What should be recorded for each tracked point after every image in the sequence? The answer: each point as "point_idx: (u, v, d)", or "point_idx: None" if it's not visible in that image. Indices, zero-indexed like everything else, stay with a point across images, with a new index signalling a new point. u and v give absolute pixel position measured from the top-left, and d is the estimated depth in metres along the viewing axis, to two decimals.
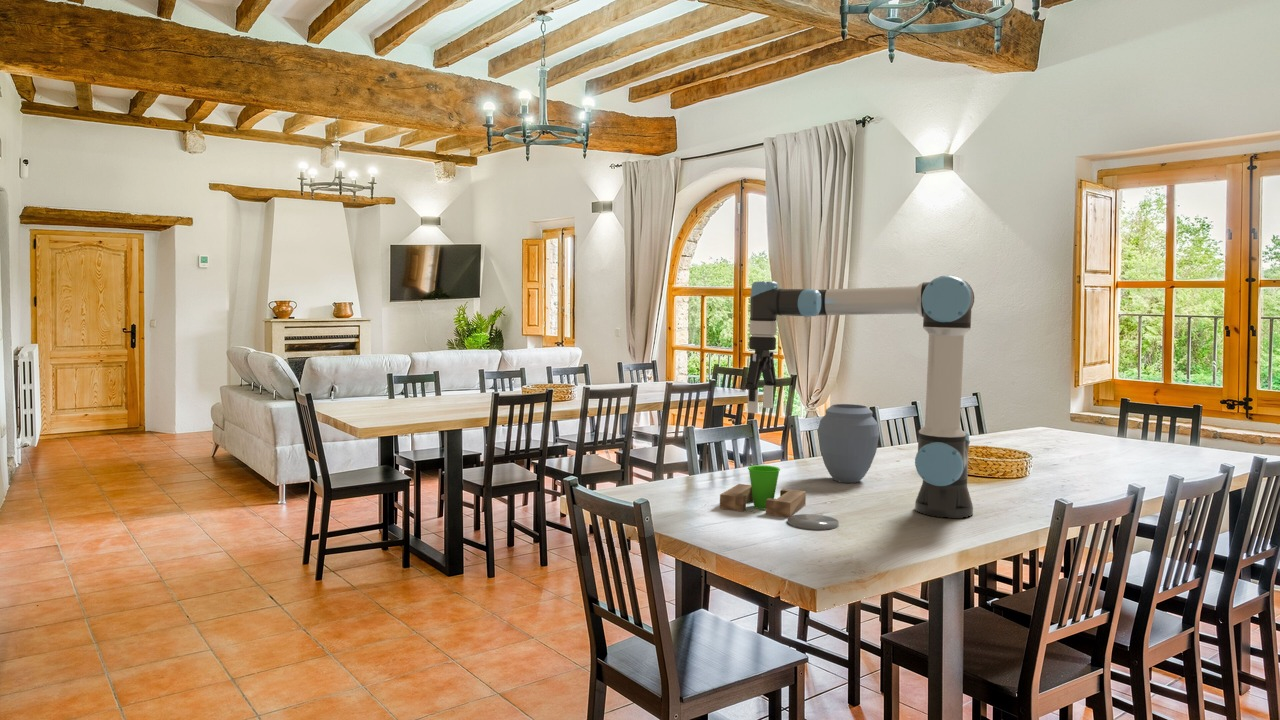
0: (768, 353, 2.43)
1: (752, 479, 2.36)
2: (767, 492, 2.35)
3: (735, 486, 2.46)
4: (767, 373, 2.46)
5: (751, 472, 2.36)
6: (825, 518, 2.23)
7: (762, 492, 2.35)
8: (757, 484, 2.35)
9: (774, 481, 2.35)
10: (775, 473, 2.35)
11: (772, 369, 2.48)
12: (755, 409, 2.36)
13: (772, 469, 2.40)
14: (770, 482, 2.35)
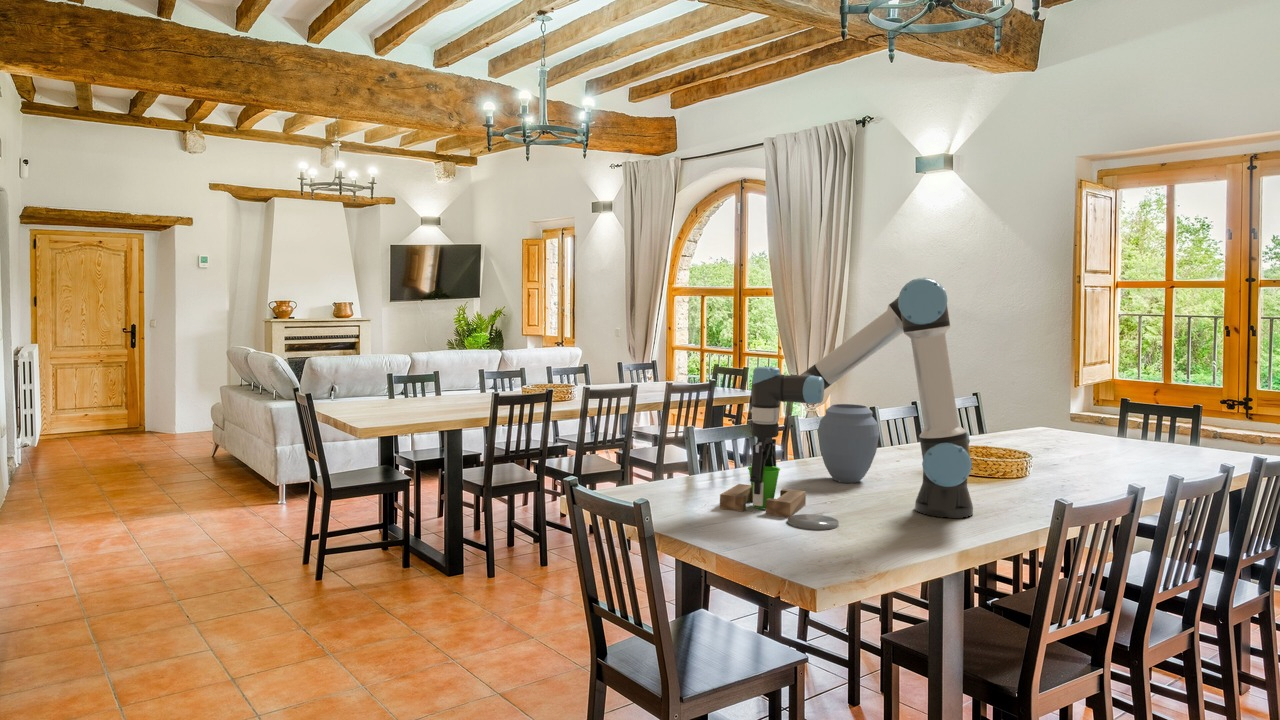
0: (771, 438, 2.39)
1: None
2: (767, 492, 2.35)
3: (735, 486, 2.46)
4: (768, 461, 2.40)
5: None
6: (825, 518, 2.23)
7: None
8: None
9: (774, 481, 2.35)
10: (775, 473, 2.35)
11: (773, 457, 2.43)
12: (760, 502, 2.33)
13: (772, 469, 2.40)
14: (770, 482, 2.35)
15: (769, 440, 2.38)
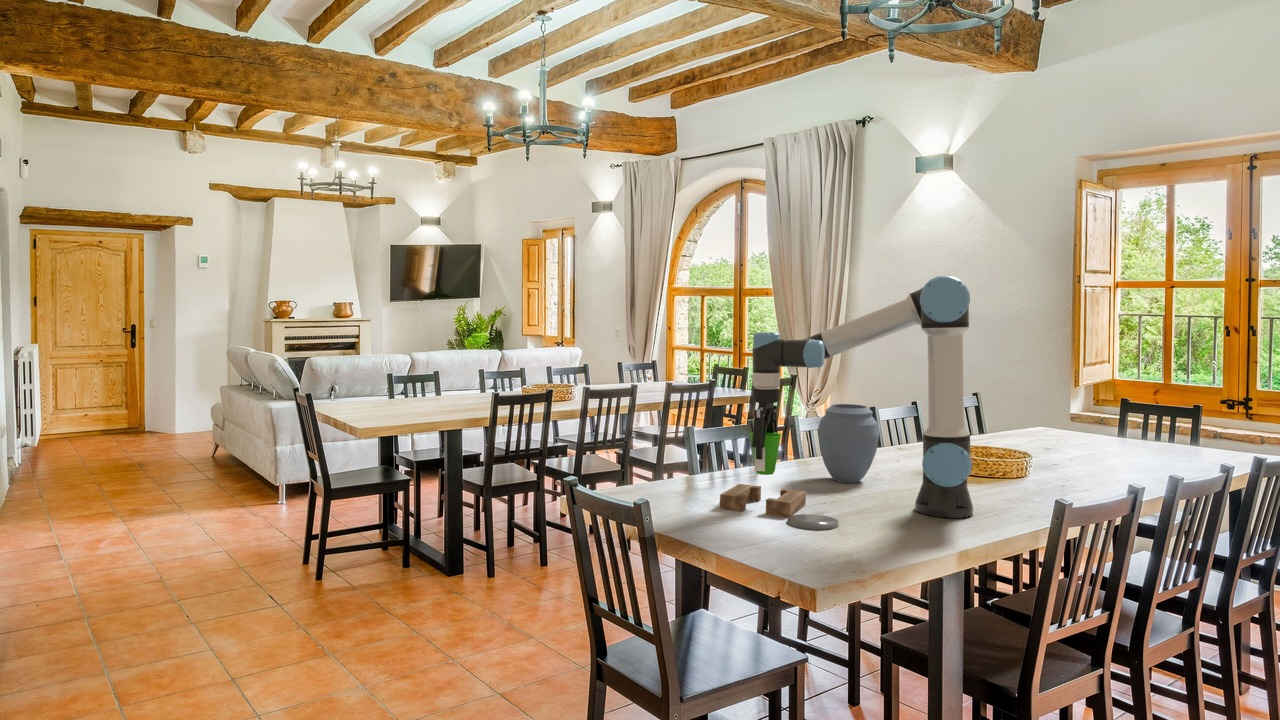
0: (772, 404, 2.38)
1: None
2: (769, 458, 2.34)
3: (735, 486, 2.46)
4: (769, 427, 2.40)
5: (752, 438, 2.35)
6: (825, 518, 2.23)
7: None
8: None
9: (776, 446, 2.35)
10: (777, 438, 2.34)
11: (775, 423, 2.42)
12: (762, 467, 2.33)
13: (773, 435, 2.40)
14: (772, 447, 2.34)
15: (770, 406, 2.37)
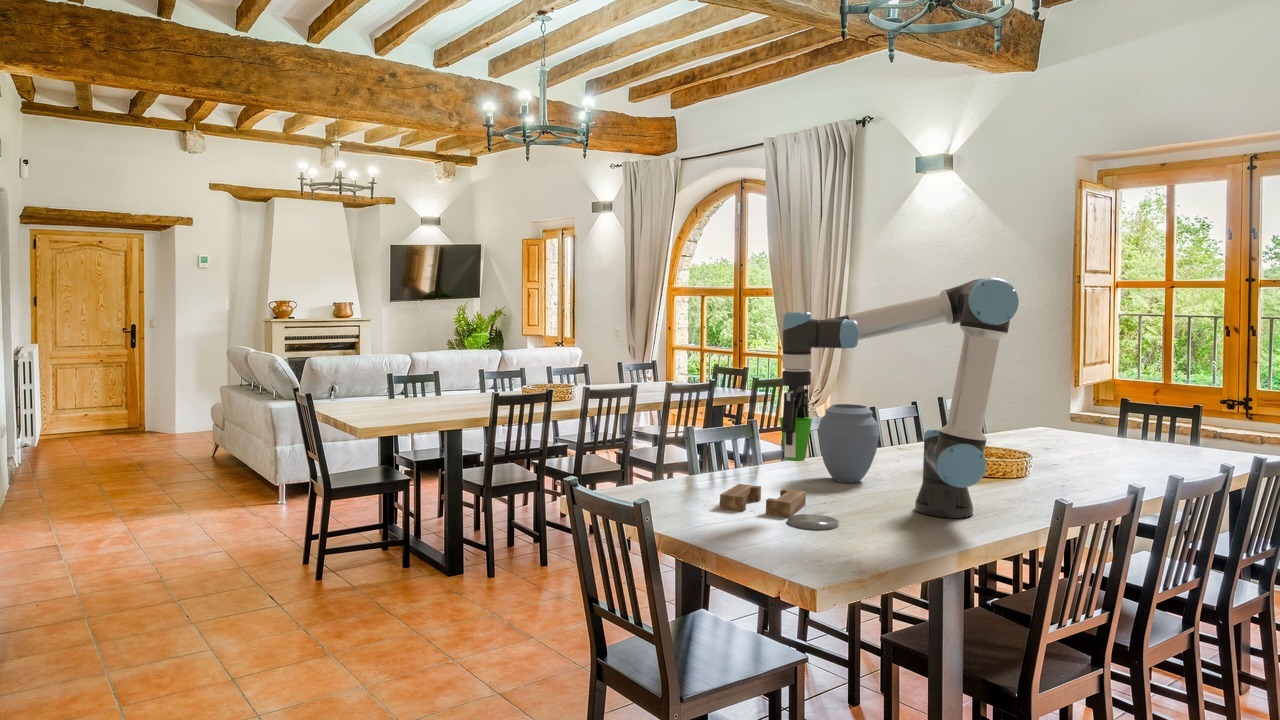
0: (803, 387, 2.28)
1: None
2: (800, 443, 2.24)
3: (735, 486, 2.46)
4: (800, 412, 2.29)
5: None
6: (825, 518, 2.23)
7: None
8: None
9: (806, 432, 2.24)
10: (807, 423, 2.23)
11: (806, 408, 2.31)
12: (793, 453, 2.22)
13: (804, 420, 2.29)
14: (802, 432, 2.23)
15: (801, 389, 2.26)
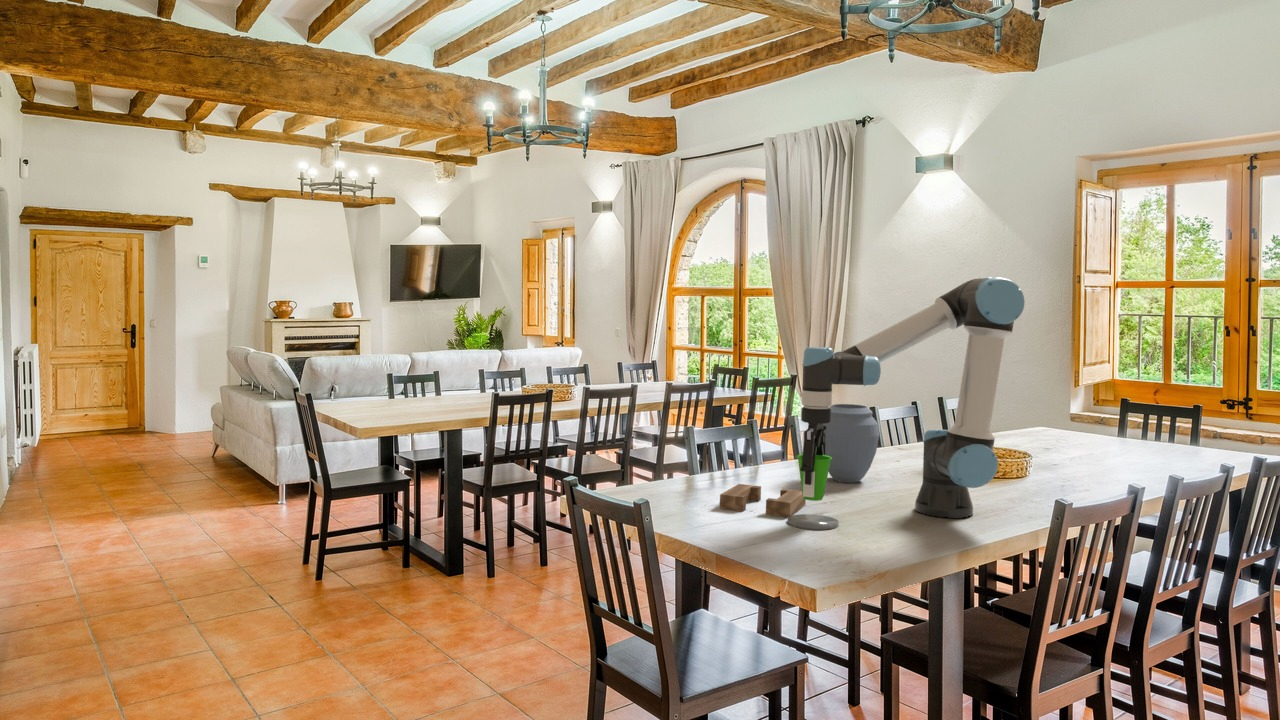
0: (822, 424, 2.21)
1: None
2: (819, 482, 2.17)
3: (735, 486, 2.46)
4: (818, 449, 2.23)
5: (801, 461, 2.19)
6: (825, 518, 2.23)
7: None
8: None
9: (826, 470, 2.18)
10: (827, 462, 2.17)
11: (824, 445, 2.25)
12: (811, 493, 2.16)
13: (822, 458, 2.23)
14: (821, 471, 2.17)
15: (820, 426, 2.20)
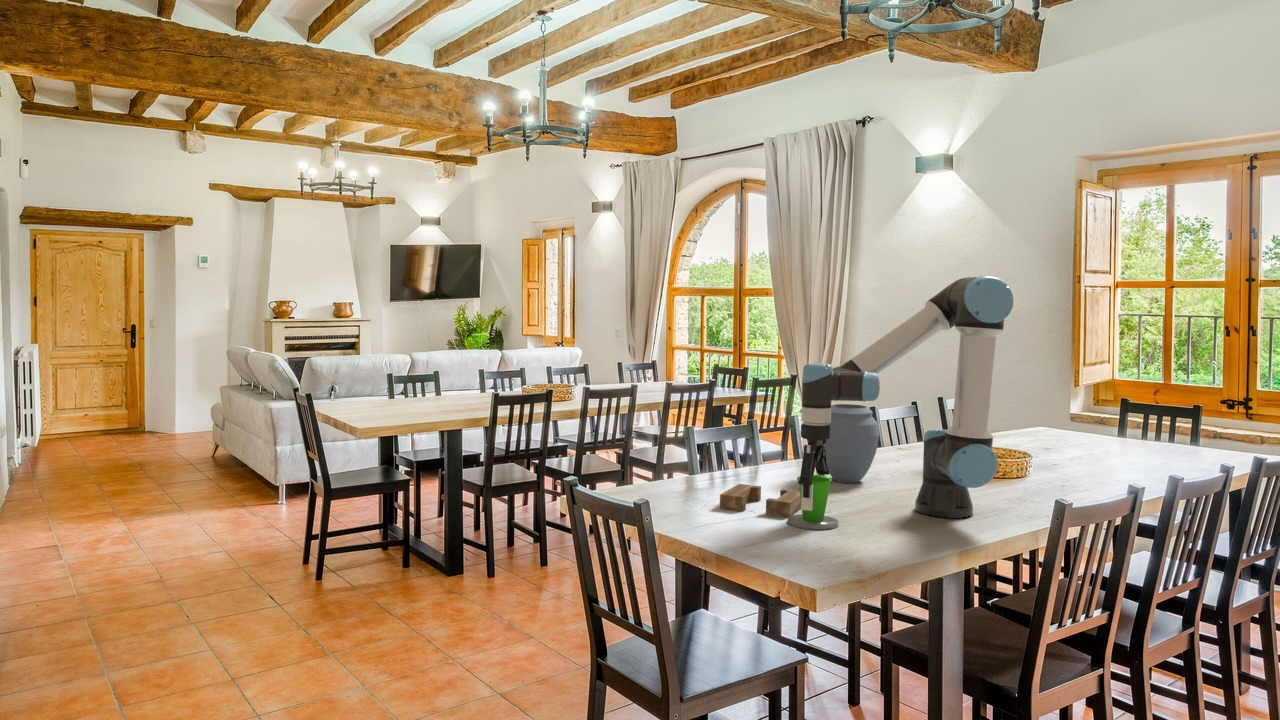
0: (821, 441, 2.21)
1: None
2: (819, 505, 2.18)
3: (735, 486, 2.46)
4: (819, 462, 2.24)
5: None
6: (825, 518, 2.23)
7: (813, 504, 2.18)
8: None
9: (826, 493, 2.18)
10: (827, 484, 2.17)
11: (824, 457, 2.26)
12: (810, 506, 2.14)
13: (822, 479, 2.23)
14: (821, 493, 2.17)
15: (820, 445, 2.20)
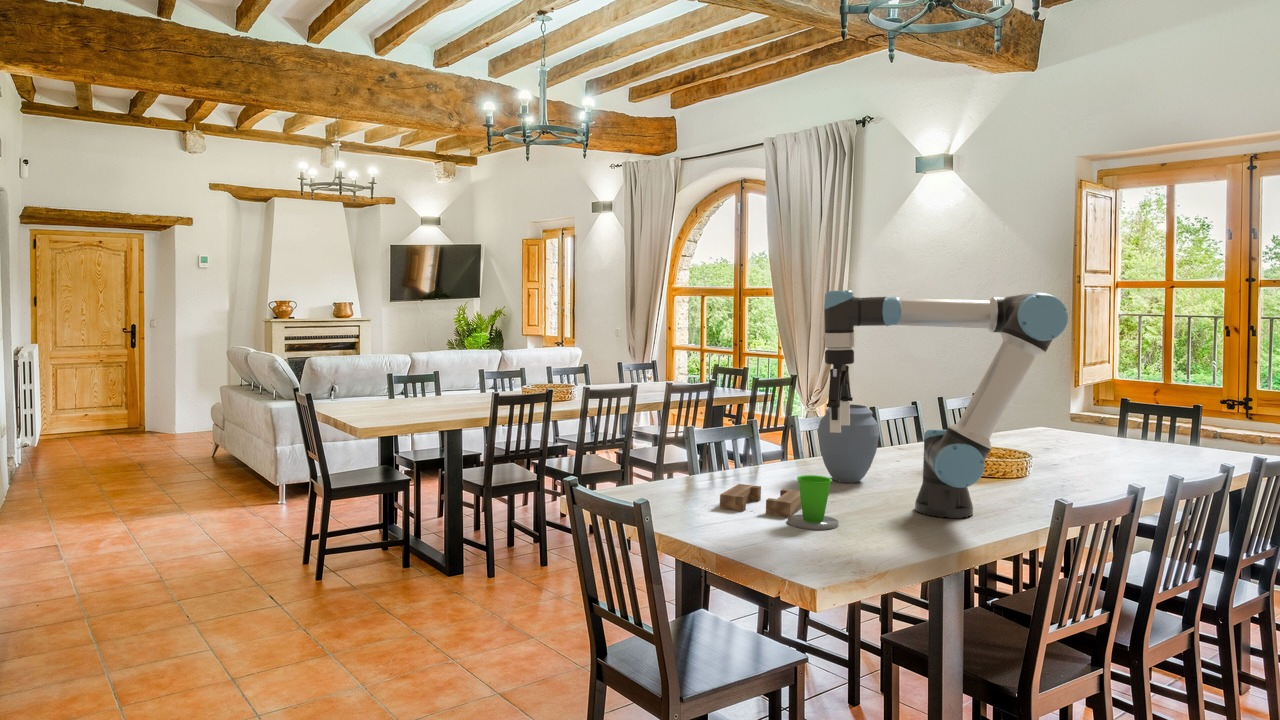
0: (845, 367, 2.27)
1: (802, 490, 2.19)
2: (819, 504, 2.18)
3: (735, 486, 2.46)
4: (843, 388, 2.29)
5: (801, 483, 2.19)
6: (825, 518, 2.23)
7: (813, 504, 2.18)
8: (808, 496, 2.18)
9: (826, 493, 2.18)
10: (827, 484, 2.18)
11: (847, 383, 2.31)
12: (838, 428, 2.19)
13: (823, 479, 2.23)
14: (822, 493, 2.17)
15: (844, 370, 2.25)
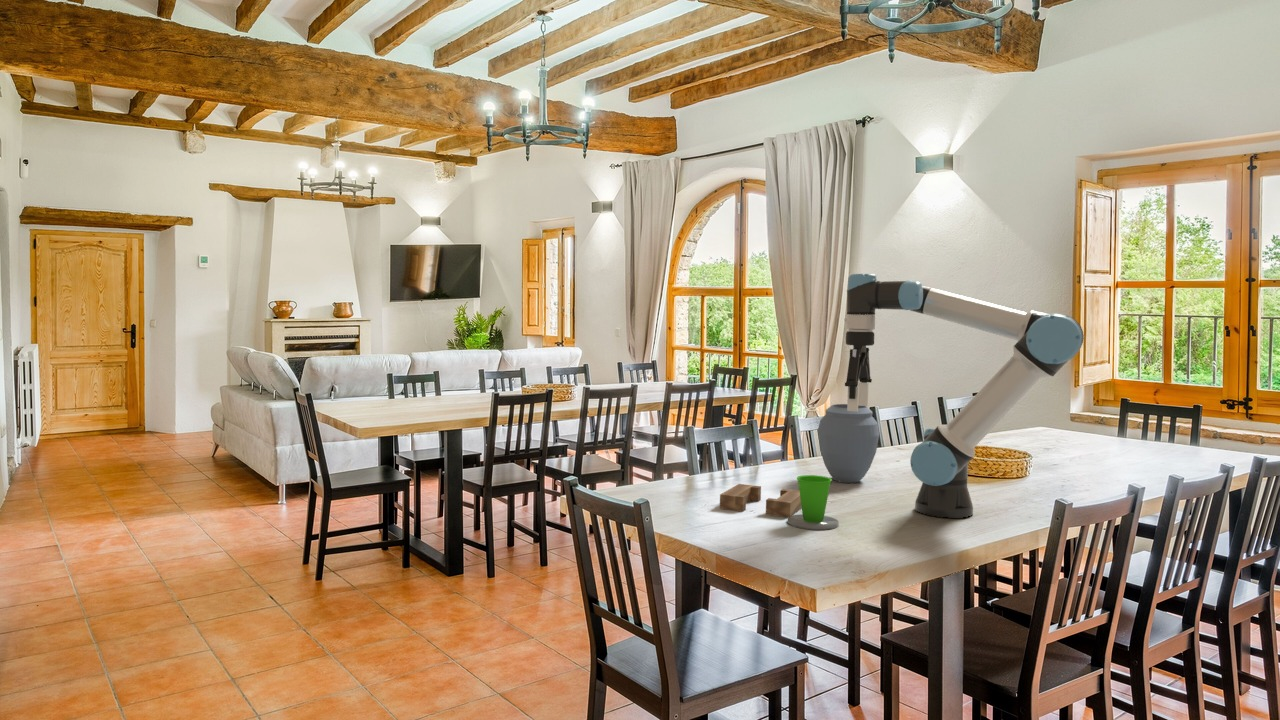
0: (865, 349, 2.33)
1: (802, 490, 2.19)
2: (819, 504, 2.18)
3: (735, 486, 2.46)
4: (863, 369, 2.36)
5: (801, 483, 2.19)
6: (825, 518, 2.23)
7: (813, 504, 2.18)
8: (808, 496, 2.18)
9: (826, 492, 2.18)
10: (827, 484, 2.18)
11: (867, 365, 2.38)
12: (855, 407, 2.26)
13: (822, 479, 2.23)
14: (821, 493, 2.17)
15: (864, 351, 2.32)
